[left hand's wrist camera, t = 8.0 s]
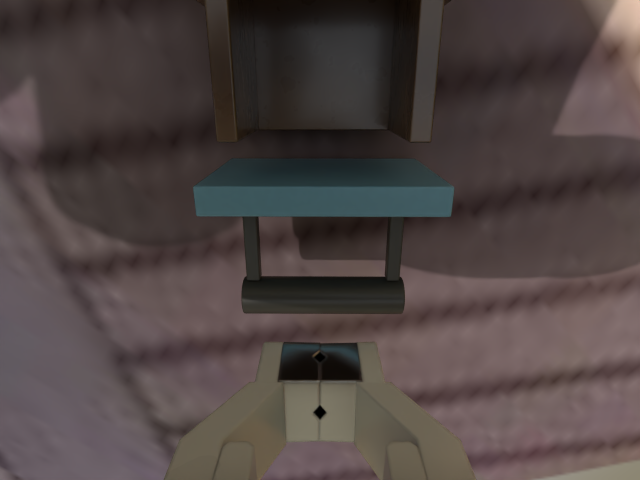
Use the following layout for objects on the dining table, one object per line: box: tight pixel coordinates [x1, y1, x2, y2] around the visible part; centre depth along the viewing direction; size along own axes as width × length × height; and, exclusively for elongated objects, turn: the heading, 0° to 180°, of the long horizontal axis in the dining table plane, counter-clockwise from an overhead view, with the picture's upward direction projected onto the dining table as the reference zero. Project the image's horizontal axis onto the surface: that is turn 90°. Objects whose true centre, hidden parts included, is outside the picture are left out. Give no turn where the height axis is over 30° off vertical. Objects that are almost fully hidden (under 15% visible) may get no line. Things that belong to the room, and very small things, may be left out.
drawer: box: [193, 0, 454, 314], centre depth 16 cm, size 26×10×7 cm, turn 0°
